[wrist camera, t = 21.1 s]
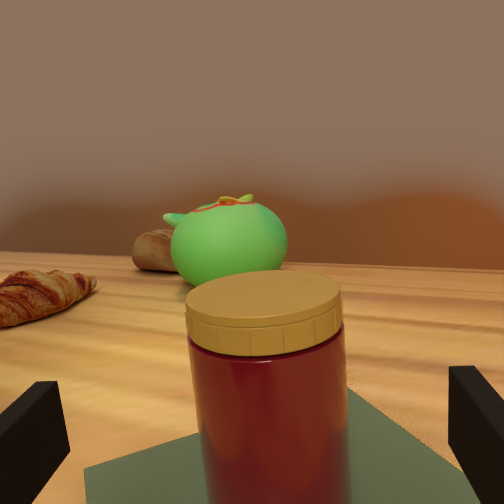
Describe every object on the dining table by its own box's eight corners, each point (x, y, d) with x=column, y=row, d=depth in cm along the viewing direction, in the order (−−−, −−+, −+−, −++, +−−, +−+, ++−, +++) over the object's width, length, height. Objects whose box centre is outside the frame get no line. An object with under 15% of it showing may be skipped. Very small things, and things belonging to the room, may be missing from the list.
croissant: (87, 308, 79) (67, 267, 79) (121, 285, 73) (99, 242, 74) (-39, 356, 61) (-64, 303, 61) (-6, 331, 55) (-34, 273, 56)
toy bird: (189, 314, 61) (175, 206, 58) (166, 285, 76) (155, 198, 73) (307, 290, 67) (301, 190, 64) (264, 267, 82) (258, 186, 79)
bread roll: (178, 280, 79) (172, 235, 77) (120, 274, 87) (114, 233, 85) (212, 267, 86) (208, 225, 85) (156, 262, 95) (151, 224, 93)
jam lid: (217, 373, 18) (212, 331, 18) (172, 317, 25) (168, 286, 25) (374, 330, 21) (373, 293, 21) (295, 290, 28) (293, 262, 28)
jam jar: (238, 583, 20) (212, 346, 18) (191, 475, 27) (168, 296, 25) (383, 517, 23) (377, 306, 21) (306, 434, 30) (295, 271, 28)
